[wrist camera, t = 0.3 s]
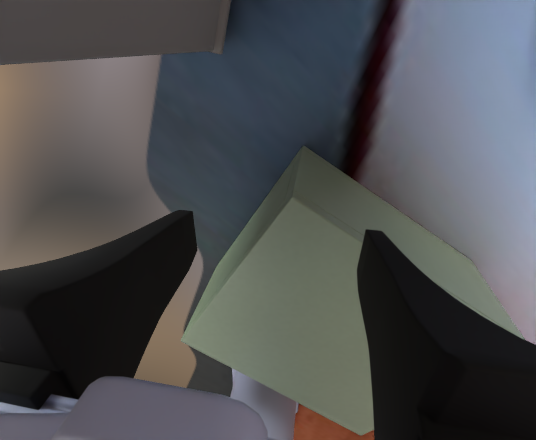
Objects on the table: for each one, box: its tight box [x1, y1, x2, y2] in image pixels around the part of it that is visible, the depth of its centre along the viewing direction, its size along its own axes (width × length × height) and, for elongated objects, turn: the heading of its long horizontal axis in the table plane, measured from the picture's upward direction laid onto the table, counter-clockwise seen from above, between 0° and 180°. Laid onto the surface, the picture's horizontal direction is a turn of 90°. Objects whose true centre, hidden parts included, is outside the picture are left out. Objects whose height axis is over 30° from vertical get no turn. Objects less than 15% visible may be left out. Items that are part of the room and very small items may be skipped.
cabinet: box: [181, 146, 525, 435], centre depth 21 cm, size 16×14×8 cm
